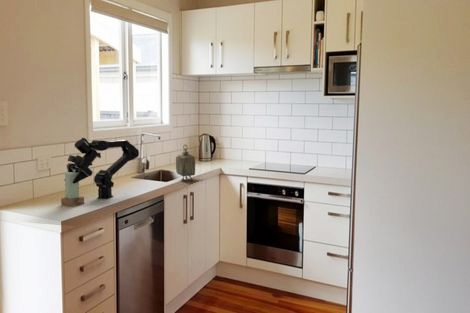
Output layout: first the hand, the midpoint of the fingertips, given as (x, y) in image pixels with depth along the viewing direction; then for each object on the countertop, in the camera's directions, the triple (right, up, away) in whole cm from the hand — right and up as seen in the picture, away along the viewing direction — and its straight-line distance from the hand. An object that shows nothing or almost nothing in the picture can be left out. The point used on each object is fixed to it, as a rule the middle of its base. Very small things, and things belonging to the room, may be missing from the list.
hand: (69, 182), depth 207 cm
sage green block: (+1, -8, +2) cm, 8 cm away
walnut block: (+1, -12, +3) cm, 13 cm away
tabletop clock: (+52, -3, +69) cm, 87 cm away
